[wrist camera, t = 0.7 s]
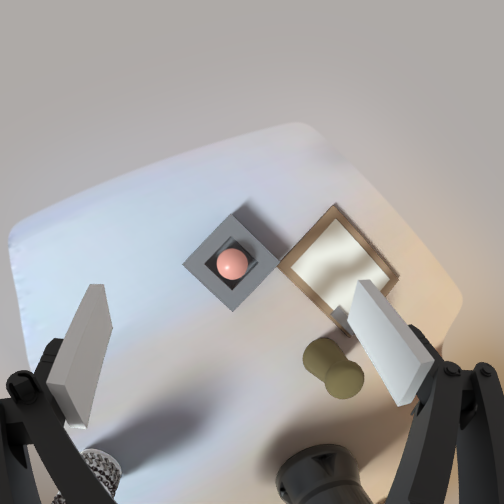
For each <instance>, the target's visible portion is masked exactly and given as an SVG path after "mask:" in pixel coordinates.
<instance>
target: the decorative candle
mask: <svg viewBox="0 0 504 504" xmlns="http://www.w3.org/2000/svg"><path fill="white" fill-rule="evenodd" d="M80 454H81V456H82V457H83V459H84V460H85V461H86V463H87V464H88V466H89V467H90V469H91V470H92V471H93V473H94V474H95V476H96V477H97V478H98V480H99V481H100V482H101V484H102V485H103V486H104V488H105V489H106V490H107V491H108V493H109V494H110V495H111V496H112V498H113V497H114V496H115V491H116V490H117V488H118V485H119V481H120V478H121V475H122V471H121V467H120V465H119V464H118V462H117V460H115V459H114V458H113V457H112V456H111V455H109V454H107V453H105V452H103V451H101V450H97V449H93V448H91V449H85V450H83V451H82V452H80ZM113 499H114V498H113ZM54 500H55V501H52V504H67V502H66V501H65V499H64V498H63V496H62V494H61V493H60V491H59V492H58V494H57V495H56V496H55V497H54Z"/></svg>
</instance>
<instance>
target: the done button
mask: <svg viewBox="0 0 504 504" xmlns="http://www.w3.org/2000/svg"><path fill="white" fill-rule="evenodd" d="M247 267H248V261H247V258H246V256H245V255H244V254H243V253H242V252H241V251H239V250H237V249H233V248H230V249H226V250H224V251H222V252H221V253H220V254H219V256H218V258H217V268H218V271H219V273H220V274H221V275H222V276H223V277H225V278H227V279H230V280H234V279H238V278H240V277H242V276H243V275H244V274H245V272H246V270H247Z"/></svg>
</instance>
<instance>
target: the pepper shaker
mask: <svg viewBox="0 0 504 504" xmlns="http://www.w3.org/2000/svg"><path fill="white" fill-rule="evenodd" d="M303 364H304V366H305V368H306V369H307V370H308V371H309V372H310V373H312V374H313V375H314V376H316V377H317V378H318V379H320V380H321V381H323V382H324V383H325V387H326V389H327V391H328V392H329V394H330V395H332V396H333V397H335V398H338V399H348V398H351V397H353V396H354V395H356V394H357V393H358V392H359V391H360V390H361V388H362V386H363V383H364V373H363V371H362V369H361V367H360V366H359V365H358V364H357V363H355V362H353V361H350V360H348V359H347V358H346V356H345V355H344V354H343V352H342V351H341V349H340V348H339V346H338V345H337V344H336V343H335V342H334V341H333V340H331V339H328V338H321V339H317V340H315V341H313V342H312V343H310V344H309V345H308V346H307V348H306V349H305V351H304V354H303Z"/></svg>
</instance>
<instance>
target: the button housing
mask: <svg viewBox="0 0 504 504" xmlns="http://www.w3.org/2000/svg"><path fill="white" fill-rule="evenodd" d="M230 248H233V249H237V250H239V251H241V252H242V253H243V254H244V255H245V256H246V258H247V261H248V267H247V270H246V272H245V274H244V275H243V276H242V277H240V278H238V279H234V280H230V279H227V278H225V277H223V276H222V275H221V274H220V273H219V271H218V268H217V258H218V256H219V254H220V253H221V252H222V251H224V250H226V249H230ZM279 263H280V261H279V260H278V259H277V258H276V257H275V256H274V255H273V254H272V253H271V252H270V251H269V250H267V249H266V248H265V247H264V246H263V245H262V244H261V243H260V242H259V241H258V240H257V239H256V238H255V237H254V236H253V235H252V234H251V233H250V232H249V231H248V230H247V229H246V228H245V227H244V226H243V225H242V224H241V223H240V222H239V221H238V220H237V219H236V218H235V217H234V216H233V215H232V214H230V215H229V216H228V217H227V218H226V219H225V220H224V221H223V222H222V223H221V224H220V225H219V226H218V227H217V228H216V229H215V230H214V231H213V232H212V233H211V235H210V236H209V237H208V238H207V239H206V240H205V241H204V242H203V243H202V244H201V245H200V246H199V247H198V248H197V249H196V250H195V251H194V252H193V253H192V254H191V255H190V257H189V258H188V259H187V260H186V261H185V262H184V263H183V264H182V265H183V266H184V267H185V268H186V269H187V270H188V271H189V272H190V273H192V274H193V275H194V276H195V277H196V278H197V279H198V280H199V281H200V282H201V283H202V284H203V285H204V286H205V287H206V288H207V289H208V290H209V291H211V292H212V293H213V294H214V295H215V296H216V297H217V298H218V299H219V300H220V301H221V302H222V303H223V304H225V305H226V306H227V307H228V308H229V309H230V310H231V311H232V312H233V311H234V310H235V309H236V308H237V307H238V306H239V305H240V304H241V303H242V302H243V301H244V300H245V299H246V298H247V297H248V296H249V295H250V294H251V293H252V291H253V290H254V289H255V288H256V287H257V286H258V285H259V284H260V283H261V282H262V281H263V280H264V279H265V278H266V277H267V276H268V275H269V274H270V273H271V272H272V270H273V269H274V268H275V267H276V266H277V265H278V264H279Z"/></svg>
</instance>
